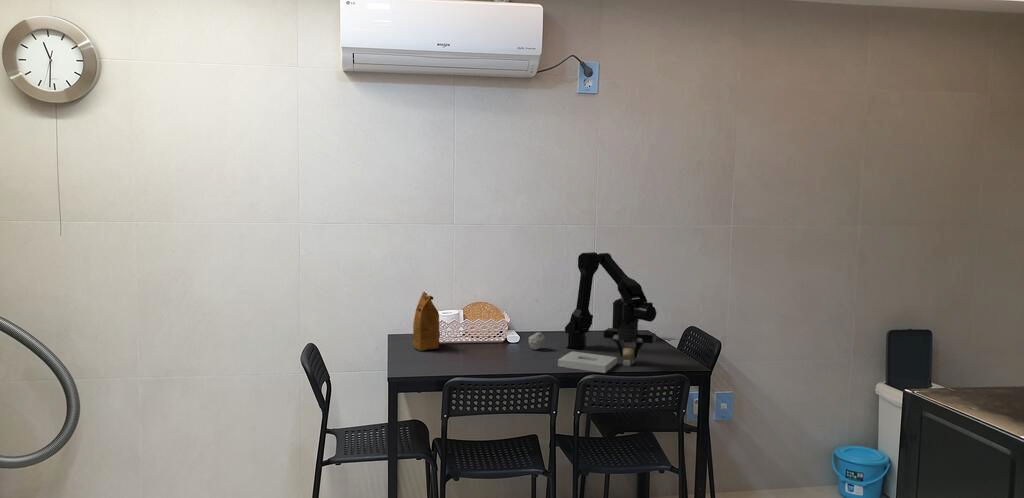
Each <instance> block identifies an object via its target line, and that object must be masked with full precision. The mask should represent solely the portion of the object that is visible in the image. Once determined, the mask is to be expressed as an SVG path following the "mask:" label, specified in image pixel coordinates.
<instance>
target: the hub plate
mask: <svg viewBox="0 0 1024 498" xmlns="http://www.w3.org/2000/svg"><path fill="white" fill-rule="evenodd" d="M617 363H618V357H616V356H611V355H601V354H596V353H595V354H593V353H587V352H579V351H573V350H572V351H570V352H568V353H566V354H565V355H564V356H562V357H560V358H559V359H557V367H561V368H567V369H574V370H580V371H581V370H582V371H588V372H589V371H590V372H595V373H603V374H606V373H607V372H608V371H609V370H610V369H612V368H614V367H615V366H616V365H617Z"/></svg>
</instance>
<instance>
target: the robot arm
mask: <svg viewBox="0 0 1024 498" xmlns="http://www.w3.org/2000/svg"><path fill="white" fill-rule="evenodd" d="M599 266H601V267H602V268H603V269H604V271H605V272H606V273H607V274H608V275H609V277H610V278H611V279H612V280H613V282H614V283H616V285H617V291H618V293H619V295H621V296H622V300H620V301H619V303H620V304H623V320H622V322H621V326H620V328H619V330H618V329H614V328H611V327H608V328H607V329H605V330H604V331H603V338H605V339H612V337H613V339H612V340H611V341H613V342H615V343H616V346H617V348H618V351H619V354H620V357H621V358H622V356H623V346H625V345H624V344H625V342H624V340H626V341H629V342H631V341H630V340H632V339H636V340H637V341H635V347H636V350H635V360H637V358H638V356H639V353H640V351H641V349H642V347H643V345H645V344H654V343H655V342H656V341H657V334H656V333H655V332H650V331H649V332H647V331H645V332H644V333H643V334H642V333H639V329H638V328H639V327H638V326H639V321H640V320H641V321H645V322H649V323H651V322H653V321H654V320H655V319H656V317H657V309H656V308H655V307H654V306H653V302H648V300H647V297H646V294H645V293H644V291H643V288H642V285H641V284H640V283H639V282H638V281H636V280H635V279H633V278H631V277H629V276H628V275H627V274H626V273H625V271H624V270H623V269H622V268H621V267H620V265H619V264H618V263H617V262H616V261H615V260H614V259H613V257H612V255H611V253H609V252H602V253H597V252H595V251H593V252H592V251H591V252H582V253H580V254H578V257H577V268H578V270H579V273H580V277H579V283H578V293H577V301H576V307H575V309H574V310H573V312H572V313H571V315H570V319H569V322H568V323H567V324H566V325H565V326H564V331H565V334H568V336H567V337H568V339H567V346H566V348H567V349H573V350H581V351H582V350H583V349H585V348H586V347H587V336H586V333H589V331H590V328H591V326H592V325H593V320H594V319H593V318H594V315H593V314H591V312H590V309H589V308H590V302H591V293H592V286H593V281H594V275H595V274H596V272H597V271H598V270H599V268H600V267H599Z"/></svg>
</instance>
